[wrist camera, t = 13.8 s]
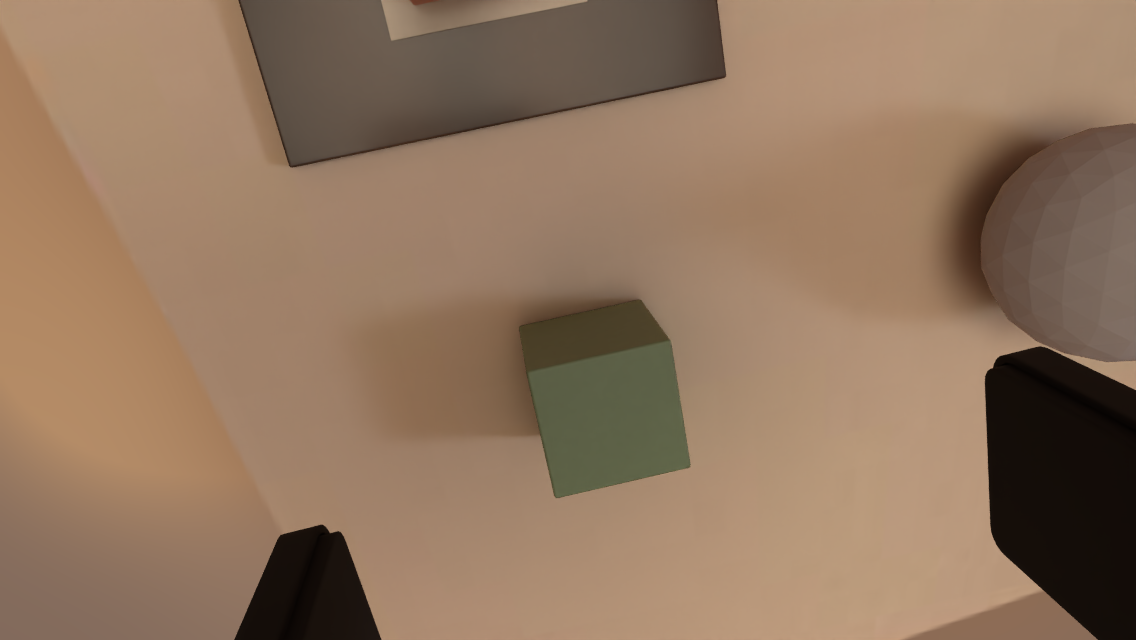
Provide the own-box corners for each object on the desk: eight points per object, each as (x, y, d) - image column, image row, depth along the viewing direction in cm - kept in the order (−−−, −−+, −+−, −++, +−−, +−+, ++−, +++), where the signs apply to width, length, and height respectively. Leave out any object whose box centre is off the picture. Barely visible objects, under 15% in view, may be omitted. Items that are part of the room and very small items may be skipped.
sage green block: (543, 436, 28) (555, 499, 24) (518, 325, 27) (525, 371, 22) (660, 410, 28) (691, 468, 24) (640, 298, 27) (671, 339, 23)
